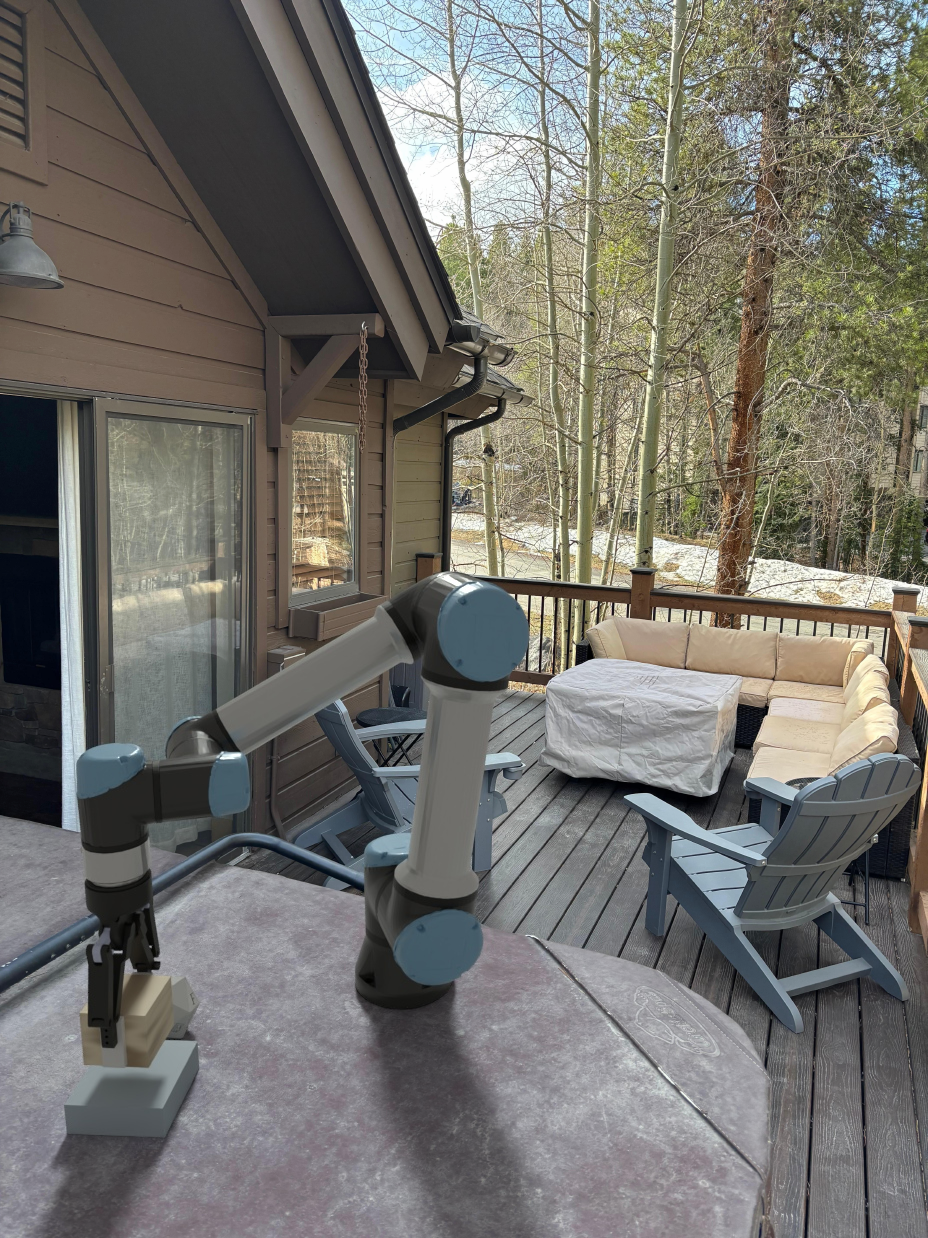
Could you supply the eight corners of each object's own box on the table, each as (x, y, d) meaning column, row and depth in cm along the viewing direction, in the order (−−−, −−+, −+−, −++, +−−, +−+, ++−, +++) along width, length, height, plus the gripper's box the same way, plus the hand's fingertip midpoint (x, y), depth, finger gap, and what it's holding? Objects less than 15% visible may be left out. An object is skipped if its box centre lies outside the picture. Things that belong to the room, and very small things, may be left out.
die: (161, 1066, 118) (202, 1001, 119) (109, 1030, 118) (150, 966, 120) (180, 1046, 126) (218, 986, 127) (131, 1013, 126) (169, 954, 128)
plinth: (199, 1068, 116) (197, 1041, 116) (164, 1137, 105) (162, 1108, 104) (110, 1064, 117) (108, 1038, 116) (66, 1134, 105) (63, 1105, 104)
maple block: (173, 1025, 113) (170, 976, 112) (148, 1068, 105) (145, 1016, 104) (113, 1022, 113) (109, 973, 112) (83, 1065, 105) (79, 1013, 104)
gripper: (124, 834, 115) (135, 989, 119) (42, 917, 95) (59, 1101, 99) (180, 836, 115) (189, 991, 119) (110, 920, 94) (124, 1104, 99)
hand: (130, 1041), depth 109 cm, fingers closed on maple block, 8 cm apart
